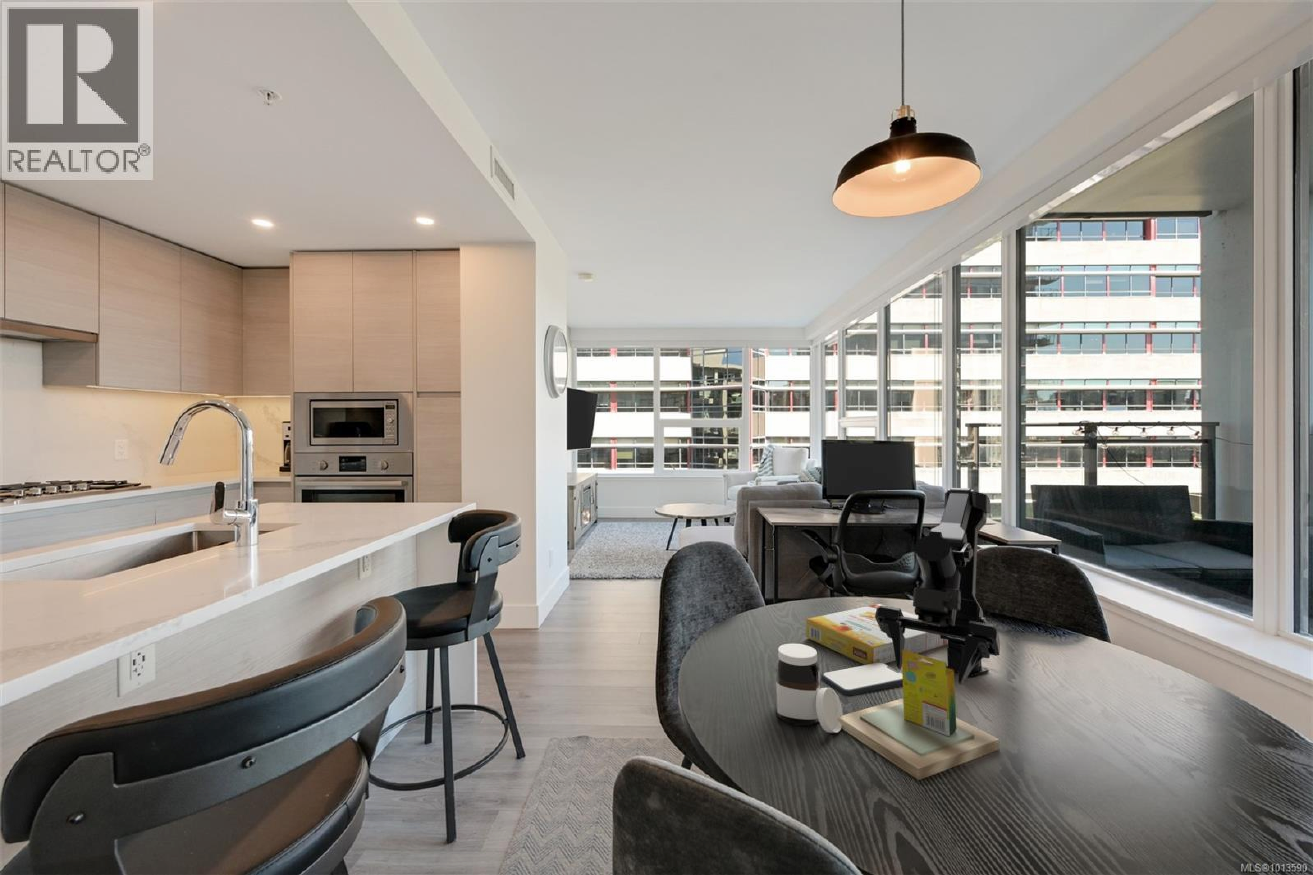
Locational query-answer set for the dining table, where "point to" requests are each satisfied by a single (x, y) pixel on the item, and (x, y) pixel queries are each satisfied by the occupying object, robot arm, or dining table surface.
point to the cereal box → (866, 635)
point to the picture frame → (916, 740)
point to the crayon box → (928, 693)
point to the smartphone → (863, 678)
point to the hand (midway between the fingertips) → (928, 675)
